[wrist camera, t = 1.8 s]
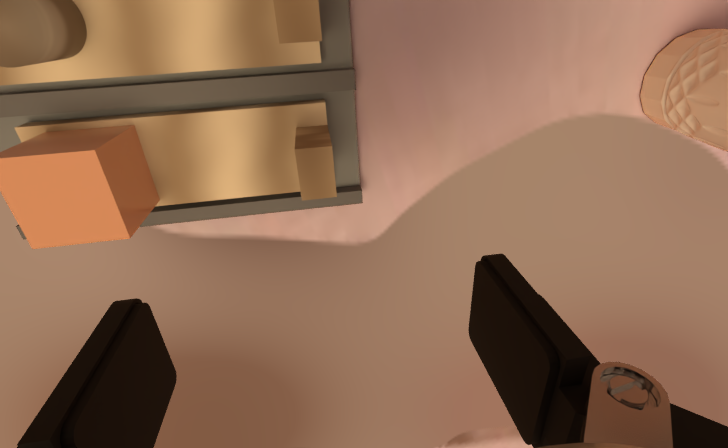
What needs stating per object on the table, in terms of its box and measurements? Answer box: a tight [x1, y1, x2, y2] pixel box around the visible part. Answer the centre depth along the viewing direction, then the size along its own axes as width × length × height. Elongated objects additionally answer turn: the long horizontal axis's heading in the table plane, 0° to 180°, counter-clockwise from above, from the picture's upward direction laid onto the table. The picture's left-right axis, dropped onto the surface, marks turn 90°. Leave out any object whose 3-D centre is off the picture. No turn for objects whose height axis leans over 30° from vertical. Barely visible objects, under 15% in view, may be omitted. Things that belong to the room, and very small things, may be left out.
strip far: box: [15, 99, 337, 206], centre depth 23 cm, size 18×6×6 cm, turn 94°
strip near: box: [0, 0, 322, 85], centre depth 19 cm, size 18×6×6 cm, turn 94°
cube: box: [0, 125, 160, 249], centre depth 22 cm, size 5×5×5 cm
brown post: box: [0, 0, 87, 68], centre depth 18 cm, size 4×4×4 cm
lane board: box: [0, 0, 363, 239], centre depth 24 cm, size 23×17×2 cm
